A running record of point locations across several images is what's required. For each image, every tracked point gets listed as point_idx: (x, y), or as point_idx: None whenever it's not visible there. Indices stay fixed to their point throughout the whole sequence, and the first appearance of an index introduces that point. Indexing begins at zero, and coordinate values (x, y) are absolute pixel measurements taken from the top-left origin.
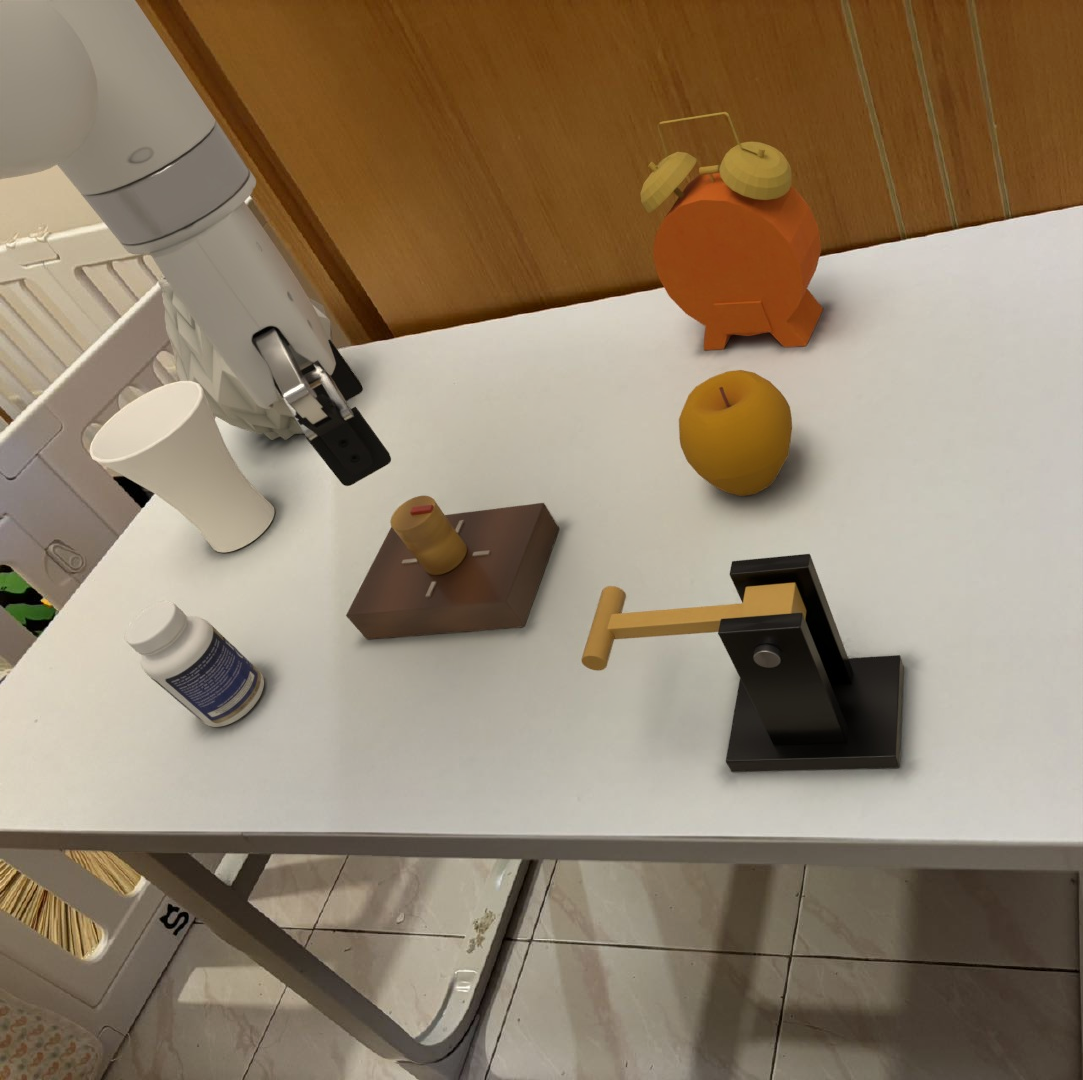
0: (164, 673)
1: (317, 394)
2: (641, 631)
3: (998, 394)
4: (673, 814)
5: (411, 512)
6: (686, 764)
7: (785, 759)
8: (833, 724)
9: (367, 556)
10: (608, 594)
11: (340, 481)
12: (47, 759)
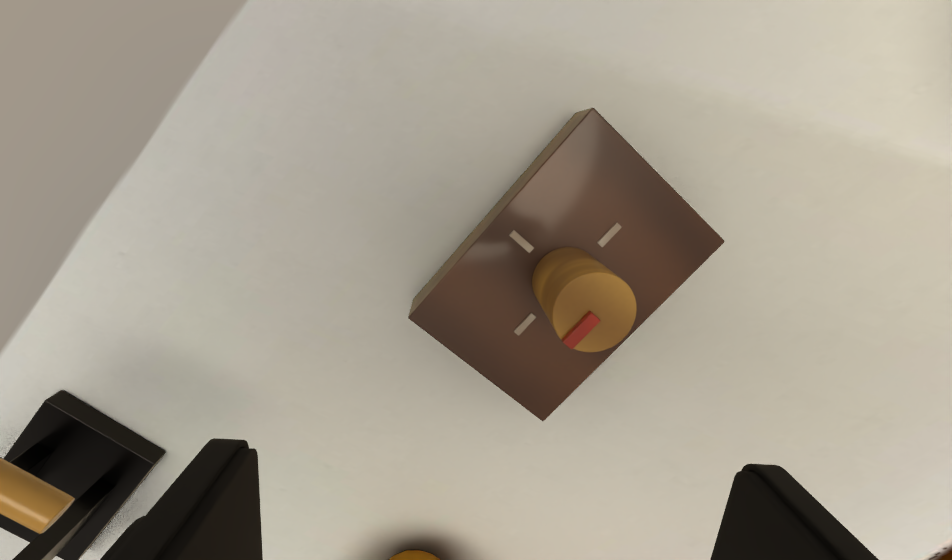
0: None
1: (779, 542)
2: None
3: None
4: (45, 324)
5: (588, 315)
6: (97, 360)
7: (15, 442)
8: None
9: (743, 167)
10: (24, 523)
11: (202, 449)
12: None
